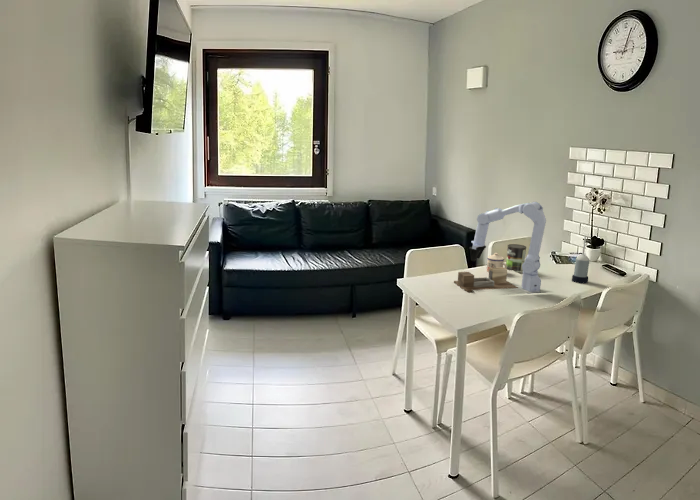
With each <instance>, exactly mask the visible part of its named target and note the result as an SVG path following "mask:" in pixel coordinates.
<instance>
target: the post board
mask: <svg viewBox="0 0 700 500" xmlns="http://www.w3.org/2000/svg"><path fill="white" fill-rule="evenodd" d="M455 283H456V284H457V285H456V284H455ZM453 284H455V285H456V286H458V287H459V286H460V287H459V288H461V289H462V290H463V289H464V290H463V291H465V293H474V292H475V291H477V290H483V291H484V290H500V289H501V290H502V289H503V290H504V289H508V290H509V289H519V287H518V286H516V285H514V284H513V283H511V282H509V281H508V280H506V282H503V283H494V281H492V280H491V279H489V277H487V276H485V277H475V274H473V273H471V272H470V271H458V274H457V280H453ZM474 290H475V291H474Z"/></svg>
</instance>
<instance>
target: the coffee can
mask: <svg viewBox="0 0 700 500" xmlns="http://www.w3.org/2000/svg"><path fill="white" fill-rule="evenodd" d="M506 250H507V252H506V260H505V261H506V262H505V264H506V266H507V268H506V269H507V270H509V271H513V272H515V273H523V270H522V264H523V263H524V262H525V259H526V252H527V251H526V250H527V246H526V245H523V244H517V243H516V244H514V243H510V244H507V249H506Z"/></svg>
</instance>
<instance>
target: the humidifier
mask: <svg viewBox="0 0 700 500" xmlns="http://www.w3.org/2000/svg"><path fill="white" fill-rule="evenodd" d="M583 239H584V240H583V246H582V253H581V254H579V255H578V256H576V258H575V261H574V262H575V264H574V271H573V274H572V276H571V281H572V282H573V283H575V284H576V283H577V284H582V285H583V284H588V283H589V276H588V274H589V266H590V258H589V257H588V256H587V255H586V254H587V253H585V251H587V250H588V248H586V243H587V242H588V239H587V235H584V238H583ZM585 248H586V250H585Z"/></svg>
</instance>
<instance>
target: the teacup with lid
mask: <svg viewBox="0 0 700 500" xmlns="http://www.w3.org/2000/svg"><path fill="white" fill-rule="evenodd" d="M504 261H505V258H504V257H503V256H501V255H500V254H499V253H498V252H494V253H493V254H491V255H488V256H487V262H486V264H487V265H486V273H488V274H489V269H490V268H500V267H504V268H507V266H506V262H504Z"/></svg>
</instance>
